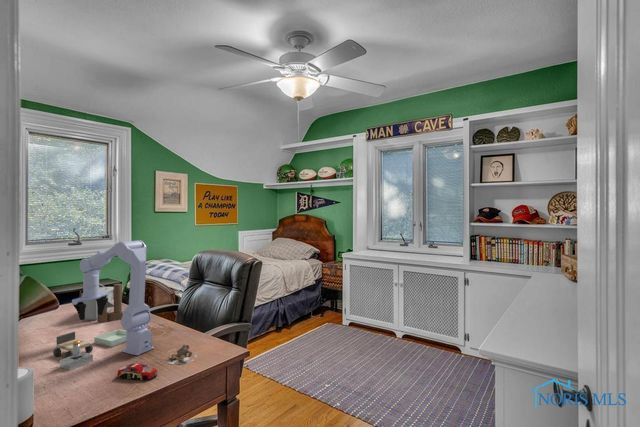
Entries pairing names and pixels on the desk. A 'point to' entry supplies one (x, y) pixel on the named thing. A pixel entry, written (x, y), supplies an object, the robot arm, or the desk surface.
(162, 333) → the desk surface
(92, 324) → the desk surface
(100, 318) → the wooden block
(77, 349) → the pin
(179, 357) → the frog figurine
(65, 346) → the ramp trolley
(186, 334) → the desk surface
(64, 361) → the plate
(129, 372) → the race car
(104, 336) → the tray
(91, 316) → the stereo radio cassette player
